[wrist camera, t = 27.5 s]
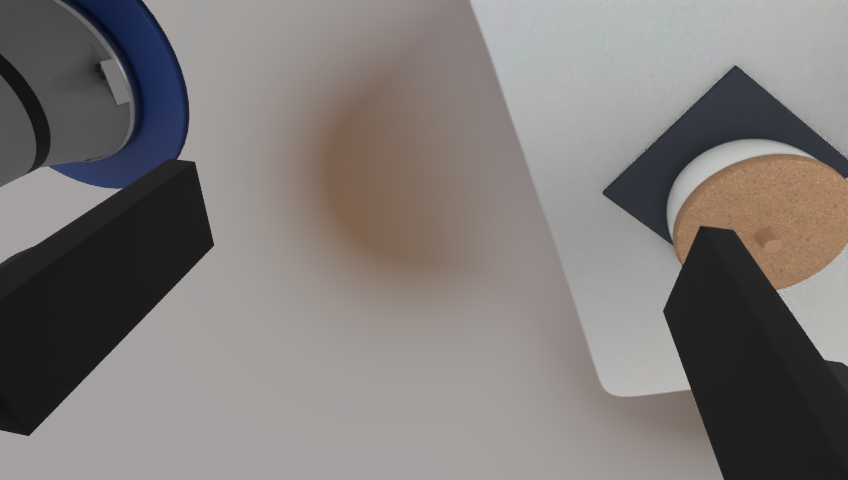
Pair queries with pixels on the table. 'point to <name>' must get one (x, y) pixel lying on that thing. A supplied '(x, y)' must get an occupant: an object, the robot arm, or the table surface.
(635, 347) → the table surface
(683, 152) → the mat
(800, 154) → the trinket box
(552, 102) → the table surface
